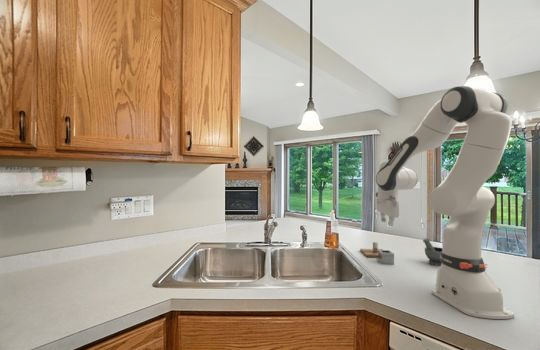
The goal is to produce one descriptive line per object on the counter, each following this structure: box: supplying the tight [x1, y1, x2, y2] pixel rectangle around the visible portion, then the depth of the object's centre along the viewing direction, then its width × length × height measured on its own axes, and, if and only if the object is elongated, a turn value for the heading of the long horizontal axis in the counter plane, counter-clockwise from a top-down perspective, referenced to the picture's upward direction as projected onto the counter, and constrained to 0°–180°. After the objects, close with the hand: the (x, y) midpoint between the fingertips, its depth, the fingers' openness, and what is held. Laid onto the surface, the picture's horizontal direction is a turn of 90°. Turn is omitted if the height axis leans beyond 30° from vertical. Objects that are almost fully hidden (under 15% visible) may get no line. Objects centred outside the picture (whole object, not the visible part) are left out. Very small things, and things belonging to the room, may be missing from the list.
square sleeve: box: [377, 249, 395, 265], centre depth 127 cm, size 6×6×5 cm
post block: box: [359, 241, 384, 259], centre depth 139 cm, size 12×12×6 cm
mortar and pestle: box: [422, 237, 442, 267], centre depth 125 cm, size 11×9×12 cm
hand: (386, 223), depth 127 cm, fingers open, 8 cm apart
